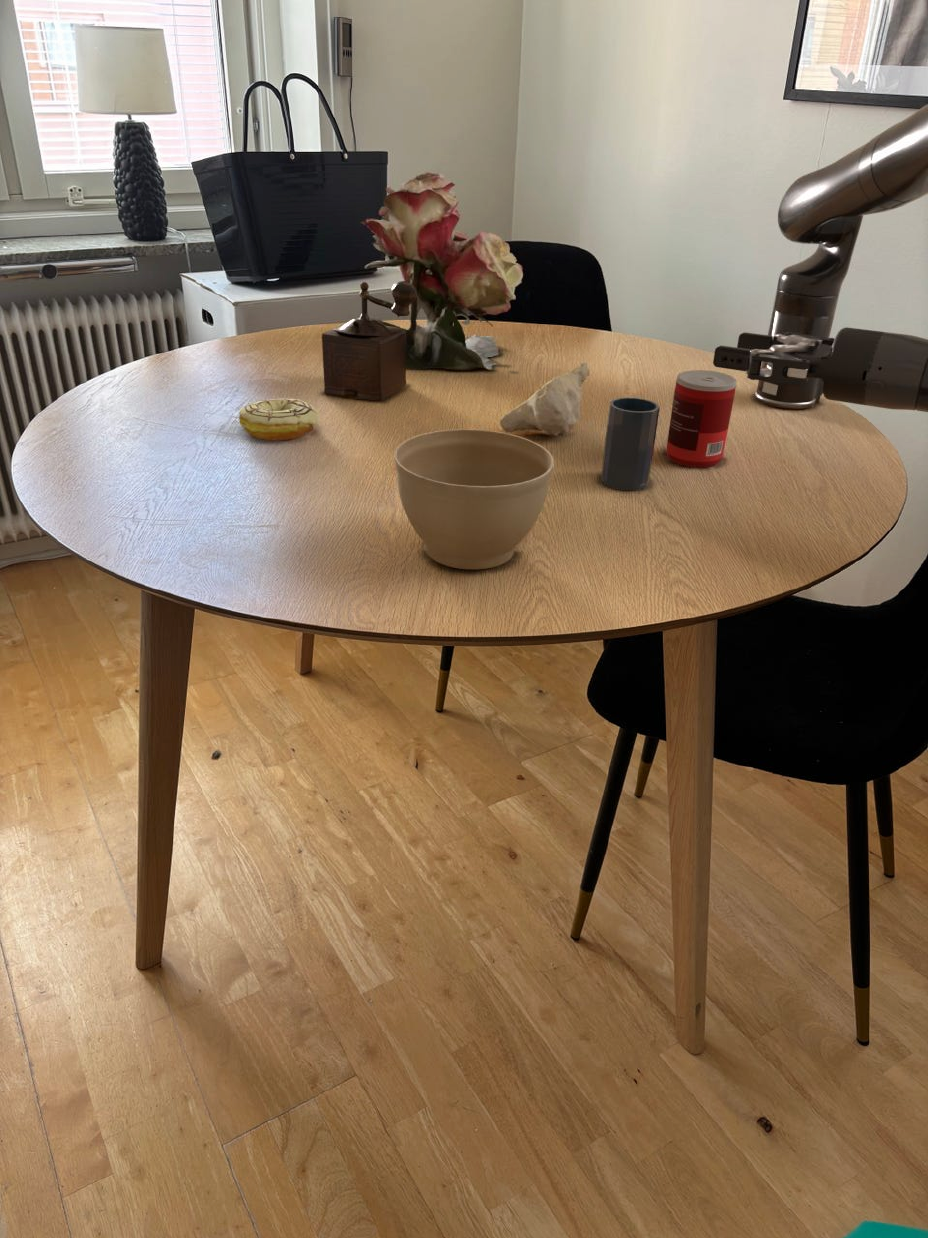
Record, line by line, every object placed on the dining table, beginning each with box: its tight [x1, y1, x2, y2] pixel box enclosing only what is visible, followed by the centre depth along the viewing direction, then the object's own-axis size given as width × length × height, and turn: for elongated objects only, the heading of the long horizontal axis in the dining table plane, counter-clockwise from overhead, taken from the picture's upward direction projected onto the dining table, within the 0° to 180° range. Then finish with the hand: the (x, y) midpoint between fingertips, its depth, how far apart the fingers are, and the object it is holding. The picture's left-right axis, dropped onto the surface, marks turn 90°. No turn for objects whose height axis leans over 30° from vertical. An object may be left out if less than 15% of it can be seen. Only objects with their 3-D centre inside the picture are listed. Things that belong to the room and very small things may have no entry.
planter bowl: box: [393, 428, 555, 570], centre depth 94 cm, size 16×16×11 cm
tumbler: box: [600, 396, 661, 491], centre depth 113 cm, size 6×6×10 cm
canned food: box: [665, 369, 737, 468], centre depth 121 cm, size 8×8×11 cm
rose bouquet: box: [360, 171, 524, 371], centre depth 160 cm, size 26×29×30 cm
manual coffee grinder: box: [321, 280, 417, 402], centre depth 141 cm, size 16×11×18 cm
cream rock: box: [498, 362, 591, 437], centre depth 131 cm, size 15×7×15 cm
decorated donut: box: [238, 398, 319, 442], centre depth 127 cm, size 10×11×4 cm
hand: (727, 348), depth 102 cm, fingers open, 8 cm apart
